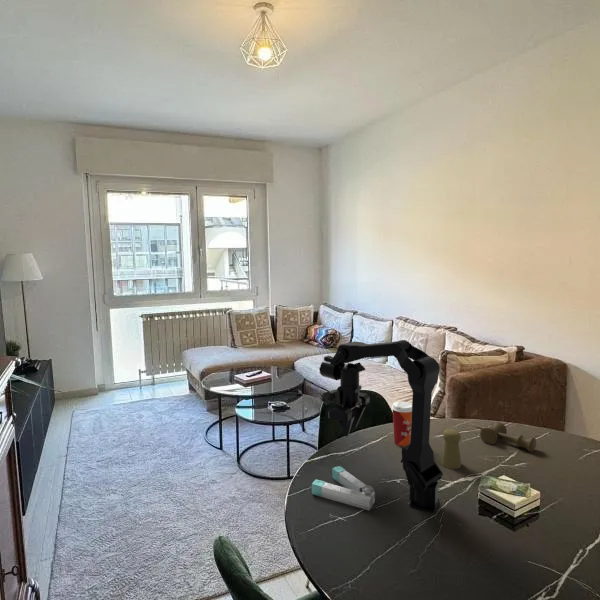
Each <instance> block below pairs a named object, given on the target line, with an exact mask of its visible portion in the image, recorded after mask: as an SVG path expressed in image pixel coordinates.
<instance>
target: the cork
mask: <svg viewBox="0 0 600 600" xmlns="http://www.w3.org/2000/svg"><path fill="white" fill-rule="evenodd" d="M442 435H443V440H444V443H443V449H442V450H443V451H442V456H441V461H440V462H441V465H442V466H443V467H444V468H447V469H449V470H452V469H453V470H455V469H460V468H461V467H462V460H461V450H460V444H459V443H460V441H461V438H462V437H461V433H460V432H459V431H458V430H456V429H451V428H449V429H445V430H444V432H443V434H442Z"/></svg>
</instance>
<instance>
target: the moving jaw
mask: <svg viewBox="0 0 600 600" xmlns="http://www.w3.org/2000/svg"><path fill="white" fill-rule="evenodd" d="M331 468H332V469H331V471H332V472H331V474H332V479H333V480H334V481H336V482H337V483H339V484H340V485H341V486H342V487H344V488H348V489H352V490H355V491H359V492H362V487H363V486H368V485H367V484H365V483H364V482H362V481H361V480H359V479H358V478H356V477H355V476H354V475H353V474H351V473H350V472H348V471H347V470H346V469H345V468H343V467H342V466H340V465H338V466H335V467H331Z"/></svg>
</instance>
